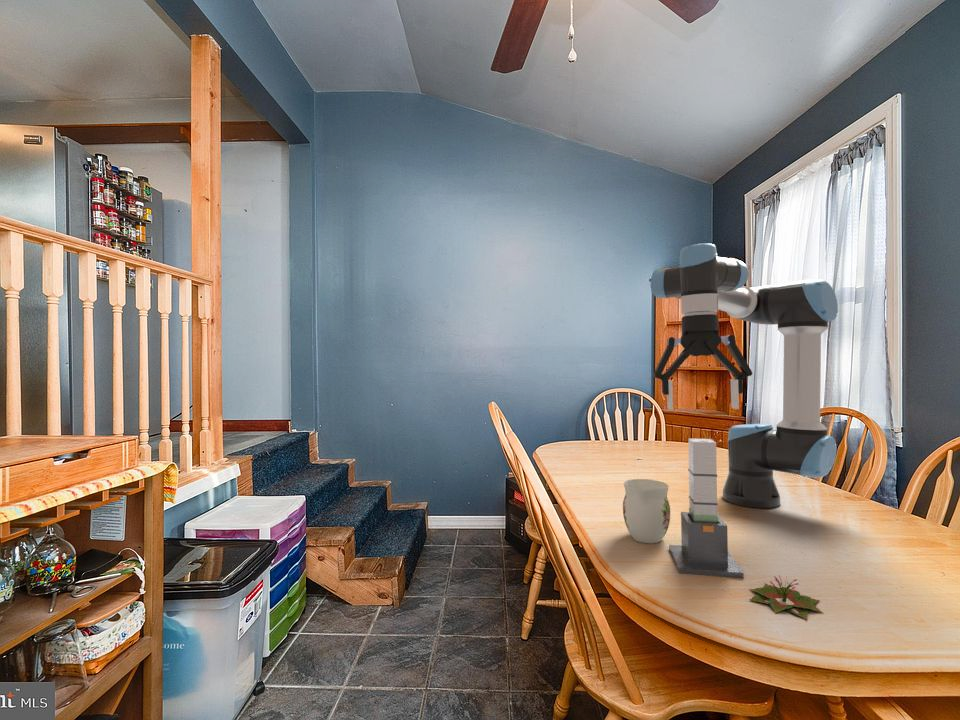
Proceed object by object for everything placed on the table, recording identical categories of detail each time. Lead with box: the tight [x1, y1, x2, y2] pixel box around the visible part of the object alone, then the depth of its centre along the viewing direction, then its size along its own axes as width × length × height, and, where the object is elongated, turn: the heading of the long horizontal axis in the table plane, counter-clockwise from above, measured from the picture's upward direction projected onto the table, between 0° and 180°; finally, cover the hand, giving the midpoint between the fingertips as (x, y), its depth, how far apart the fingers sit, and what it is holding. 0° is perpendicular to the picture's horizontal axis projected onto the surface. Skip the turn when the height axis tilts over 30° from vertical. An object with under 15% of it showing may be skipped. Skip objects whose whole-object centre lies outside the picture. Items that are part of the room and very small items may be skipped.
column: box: [687, 438, 719, 524], centre depth 100 cm, size 5×5×18 cm
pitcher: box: [622, 478, 671, 544], centre depth 115 cm, size 11×18×14 cm, turn 155°
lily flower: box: [748, 575, 824, 621], centre depth 84 cm, size 12×12×5 cm
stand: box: [668, 511, 745, 579], centre depth 100 cm, size 12×12×10 cm
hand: (702, 408), depth 105 cm, fingers open, 13 cm apart
